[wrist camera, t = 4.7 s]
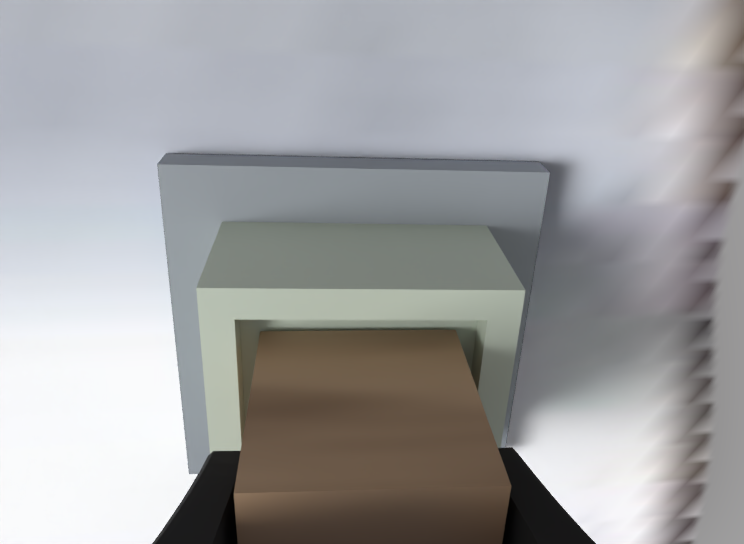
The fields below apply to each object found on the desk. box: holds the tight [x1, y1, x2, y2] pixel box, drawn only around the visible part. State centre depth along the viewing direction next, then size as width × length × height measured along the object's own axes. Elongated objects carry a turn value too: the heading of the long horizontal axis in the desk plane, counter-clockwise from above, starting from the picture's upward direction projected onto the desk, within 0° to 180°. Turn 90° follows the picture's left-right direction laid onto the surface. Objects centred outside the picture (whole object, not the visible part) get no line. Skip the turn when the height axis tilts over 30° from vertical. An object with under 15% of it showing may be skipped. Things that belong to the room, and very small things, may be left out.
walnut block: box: [234, 330, 511, 544], centre depth 14 cm, size 4×4×5 cm
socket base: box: [157, 154, 550, 474], centre depth 18 cm, size 10×10×5 cm
